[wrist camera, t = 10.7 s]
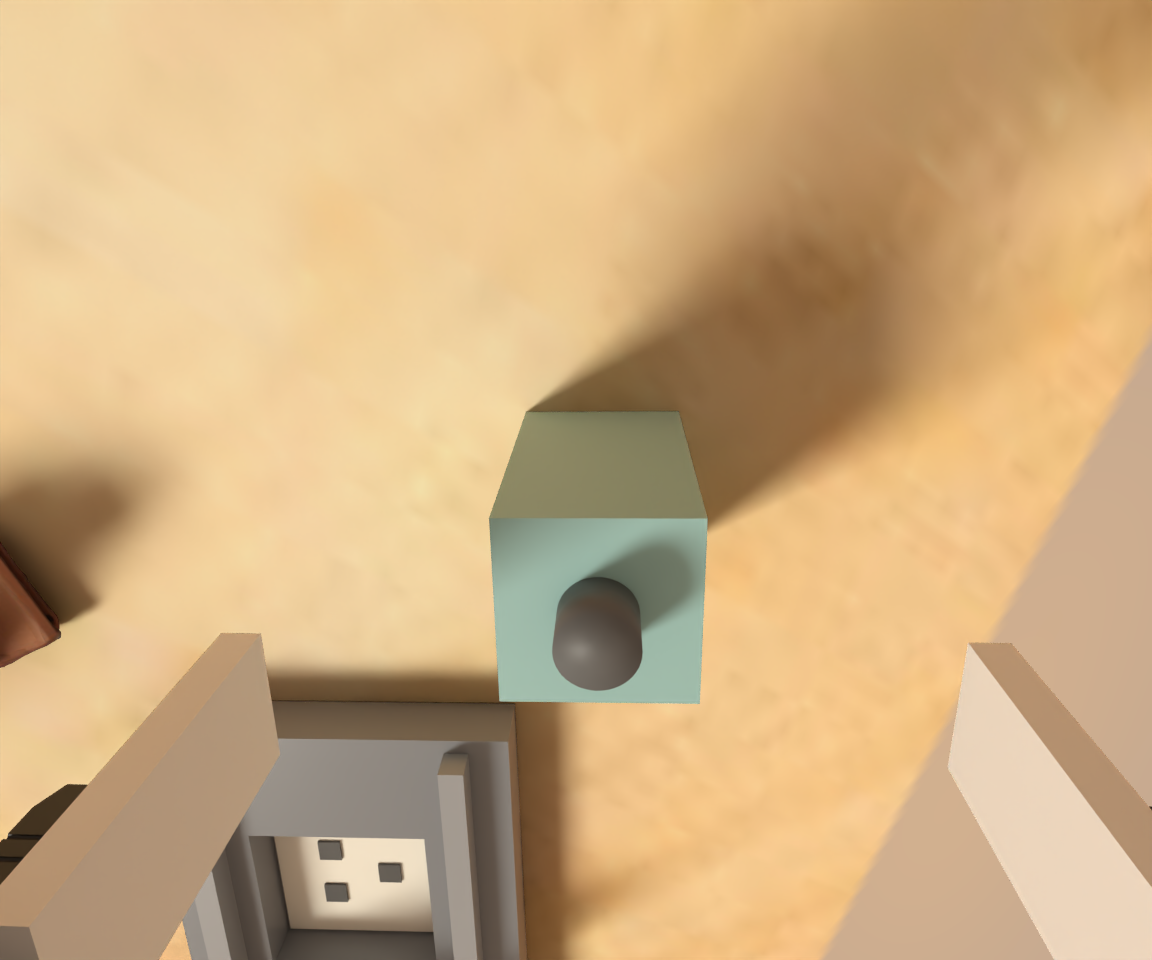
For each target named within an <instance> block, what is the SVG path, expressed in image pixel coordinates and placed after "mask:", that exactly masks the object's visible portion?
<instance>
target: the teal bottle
mask: <svg viewBox="0 0 1152 960" xmlns="http://www.w3.org/2000/svg"><path fill="white" fill-rule="evenodd" d="M707 523H708V518H707V514H706V510H705V507H704V503H703V499H702V496H701V492H700V488H699V485H698V481H697V477H696V473H695V470H694V466H693V462H692V459H691V455H690V451H689V447H688V444H687V440H686V436H685V433H684V429H683V425H682V421H681V418H680V414H679V411H606V412H526V414H525V417H524V420H523V423H522V425H521V428H520V431H519V434H518V437H517V440H516V443H515V446H514V448H513V451H512V454H511V457H510V460H509V463H508V466H507V468H506V471H505V474H504V477H503V480H502V483H501V486H500V489H499V491H498V494H497V497H496V500H495V503H494V506H493V509H492V512H491V514H490V517H489V524H490V542H491V559H492V577H493V595H494V613H495V631H496V649H497V666H498V684H499V701H509V702H596V703H683V704H700V684H701V661H702V638H703V615H704V592H705V569H706V546H707Z"/></svg>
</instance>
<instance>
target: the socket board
mask: <svg viewBox="0 0 1152 960" xmlns="http://www.w3.org/2000/svg"><path fill="white" fill-rule="evenodd" d="M272 707H273V713H274V719H275V725H276V731H277V738H278V744H279V750H280V755H279V757H278V759H277V761H276V762H275V764H274V766H273V767H272V769H271V771H270V772H269V774H268V776H267V777H266V779H265V781H264V783H263V784H262V786H261V788H260V789H259V791H258V793H257V794H256V796H255V798H254V799H253V801H252V803H251V805H250V806H249V808H248V810H247V811H246V813H245V815H244V816H243V818H242V820H241V821H240V823H239V825H238V827H237V828H236V830H235V832H234V833H233V835H232V837H231V838H230V840H229V842H228V843H227V845H226V847H225V849H224V850H223V852H222V854H221V855H220V857H219V859H218V860H217V862H216V864H215V865H214V867H213V869H212V871H211V872H210V874H209V876H208V877H207V879H206V881H205V882H204V884H203V886H202V887H201V889H200V891H199V893H198V894H197V896H196V898H195V899H194V901H193V903H192V904H191V906H190V908H189V909H188V911H187V913H186V915H185V916H184V918H183V920H182V921H183V925H184V929H185V934H186V938H187V942H188V946H189V950H190V954H191V959H192V960H527V943H526V922H525V901H524V881H523V860H522V839H521V819H520V798H519V777H518V757H517V736H516V715H515V704H491V703H406V702H321V701H272Z"/></svg>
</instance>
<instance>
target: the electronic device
mask: <svg viewBox="0 0 1152 960" xmlns="http://www.w3.org/2000/svg"><path fill="white" fill-rule="evenodd" d="M59 638H61V632H60V631H59V621H58V617H57V615H56V614H55V613H54V612H53V611H52V610H51V609H50V608H49V606H48V605H47V604H46V603H45V601H44V600H43V599H42V598H41V596H40V595H39V593H38V592H37V591H36V590H35V588H34V587H33V586H32V585H31V584H30V583H29V582H28V579H27V577H26V575H25V574H24V573H22V572H21V571H20V569H19V568H18V567H17V565H16V564H15V562H14V561H13V560H12V558H11V557H10V556H9V554H8V553H7V551H6V549H5V548H4V547H3V546H2V544H1V542H0V668H1V667H5V666H6V665H8V664H11V663H13V662H15V661H16V660H18V659H20V658H21V657H23V656H25V655H27V654H29V653H31V652H33V651H35V650H38V649H40V648H43V647H45V646H47V645H49V644H51V643H52V642H54V641H55V640H57V639H59Z"/></svg>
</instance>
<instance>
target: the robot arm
mask: <svg viewBox="0 0 1152 960" xmlns="http://www.w3.org/2000/svg"><path fill="white" fill-rule="evenodd" d="M279 755H280V750H279V744H278V738H277V731H276V725H275V719H274V713H273V707H272V700H271V694H270V688H269V682H268V675H267V669H266V663H265V657H264V650H263V644H262V638H261V634H250V633H221V634H220V635H219V636H218V638H217V639H216V640H215V641H214V642H213V643H212V644H211V646H210V647H209V648H208V649H207V650H206V651H205V652H204V653H203V655H202V656H201V657H200V658H199V659H198V660H197V661H196V663H195V664H194V665H193V666H192V667H191V668H190V669H189V671H188V672H187V673H186V674H185V675H184V676H183V677H182V679H181V680H180V681H179V682H178V683H177V684H176V685H175V687H174V688H173V689H172V690H171V691H170V692H169V693H168V694H167V696H166V697H165V698H164V699H163V700H162V701H161V702H160V704H159V705H158V706H157V707H156V708H155V709H154V710H153V712H152V713H151V714H150V715H149V716H148V717H147V718H146V720H145V721H144V722H143V723H142V724H141V725H140V726H139V728H138V729H137V730H136V731H135V732H134V733H133V734H132V735H131V737H130V738H129V739H128V740H127V741H126V742H125V743H124V745H123V746H122V747H121V748H120V749H119V750H118V751H117V753H116V754H115V755H114V756H113V757H112V758H111V759H110V761H109V762H108V763H107V764H106V765H105V766H104V767H103V768H102V770H101V771H100V772H99V773H98V774H97V775H96V776H95V778H94V779H93V780H92V781H91V782H90V783H89V784H88V785H74V784H67V785H66V786H64V787H63V788H61V789H60V790H58V791H57V792H55V793H54V794H52V795H51V796H49V797H48V798H46V799H45V800H43V801H42V802H40V803H39V804H37V805H36V806H34V807H33V808H32V809H31V810H30V811H29V812H28V813H27V814H26V815H25V816H24V817H23V818H22V819H21V821H20V822H19V823H18V824H17V825H16V826H15V827H14V828H13V829H12V830H11V831H10V832H9V833H8V838H7V839H3V840H2V841H1V842H0V960H159V959H160V957H161V955H162V953H163V952H164V950H165V948H166V947H167V945H168V943H169V942H170V940H171V938H172V937H173V935H174V933H175V931H176V930H177V928H178V926H179V925H180V923H181V921H182V920H183V918H184V916H185V915H186V913H187V911H188V909H189V908H190V906H191V904H192V903H193V901H194V899H195V898H196V896H197V894H198V893H199V891H200V889H201V887H202V886H203V884H204V882H205V881H206V879H207V877H208V876H209V874H210V872H211V871H212V869H213V867H214V865H215V864H216V862H217V860H218V859H219V857H220V855H221V854H222V852H223V850H224V849H225V847H226V845H227V843H228V842H229V840H230V838H231V837H232V835H233V833H234V832H235V830H236V828H237V827H238V825H239V823H240V821H241V820H242V818H243V816H244V815H245V813H246V811H247V810H248V808H249V806H250V805H251V803H252V801H253V799H254V798H255V796H256V794H257V793H258V791H259V789H260V788H261V786H262V784H263V783H264V781H265V779H266V777H267V776H268V774H269V772H270V771H271V769H272V767H273V766H274V764H275V762H276V761H277V759H278V757H279ZM948 770H949V771H950V773H951V775H952V777H953V778H954V780H955V782H956V784H957V786H958V788H959V789H960V791H961V793H962V795H963V796H964V798H965V800H966V802H967V804H968V805H969V807H970V809H971V811H972V813H973V815H974V816H975V818H976V820H977V822H978V824H979V825H980V827H981V829H982V831H983V833H984V834H985V836H986V838H987V840H988V842H989V843H990V845H991V847H992V849H993V851H994V852H995V854H996V856H997V858H998V860H999V861H1000V863H1001V865H1002V867H1003V869H1004V870H1005V872H1006V874H1007V876H1008V878H1009V879H1010V881H1011V883H1012V885H1013V886H1014V888H1015V890H1016V892H1017V894H1018V895H1019V897H1020V899H1021V901H1022V903H1023V905H1024V906H1025V908H1026V910H1027V912H1028V914H1029V915H1030V917H1031V919H1032V921H1033V922H1034V924H1035V926H1036V928H1037V930H1038V932H1039V933H1040V935H1041V937H1042V939H1043V941H1044V942H1045V944H1046V946H1047V948H1048V950H1049V951H1050V953H1051V955H1052V957H1053V959H1054V960H1152V807H1149V806H1148V805H1147V804H1146V803H1145V802H1144V801H1143V799H1142V798H1141V797H1140V796H1139V795H1138V793H1137V792H1136V791H1135V790H1134V788H1133V787H1132V786H1131V785H1130V784H1129V783H1128V781H1127V780H1126V779H1125V778H1124V777H1123V775H1122V774H1121V773H1120V772H1119V771H1118V769H1116V767H1115V766H1114V765H1113V764H1112V762H1111V761H1110V760H1109V759H1108V758H1107V756H1106V755H1105V754H1104V753H1103V752H1102V751H1101V749H1100V748H1099V747H1098V746H1097V745H1096V743H1095V742H1094V741H1093V740H1092V739H1091V738H1090V736H1089V735H1088V734H1087V733H1086V731H1085V730H1084V729H1083V728H1082V727H1081V726H1080V724H1078V722H1077V721H1076V720H1075V718H1074V717H1073V716H1072V715H1071V714H1070V712H1069V711H1068V710H1067V709H1066V708H1065V707H1064V705H1063V704H1062V703H1061V702H1060V701H1059V699H1058V698H1057V697H1056V696H1055V695H1054V693H1052V691H1051V690H1050V689H1049V688H1048V686H1047V685H1046V684H1045V683H1044V682H1043V680H1042V679H1041V678H1040V677H1039V676H1038V674H1037V673H1036V672H1035V671H1034V670H1033V668H1032V667H1031V666H1030V665H1029V664H1028V663H1027V662H1026V660H1025V659H1024V658H1023V657H1022V655H1021V654H1020V653H1019V652H1018V651H1017V649H1016V648H1015V647H1014V646H1013V645H1012V644H1011V643H968V646H967V652H966V659H965V665H964V671H963V677H962V683H961V689H960V695H959V701H958V707H957V714H956V720H955V726H954V732H953V738H952V745H951V751H950V757H949V763H948Z"/></svg>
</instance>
